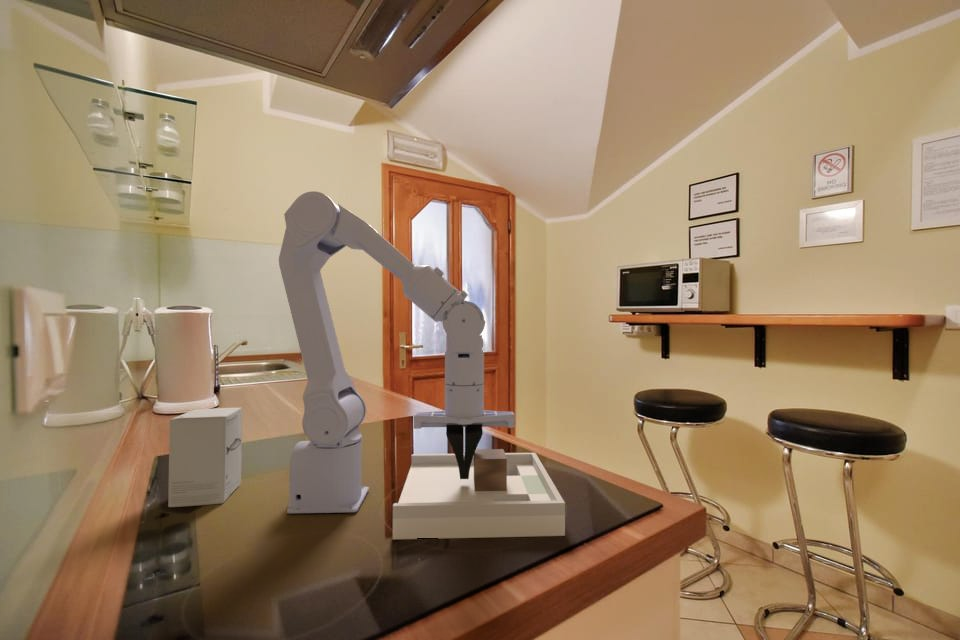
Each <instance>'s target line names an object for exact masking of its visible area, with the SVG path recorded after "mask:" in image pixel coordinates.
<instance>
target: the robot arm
mask: <svg viewBox="0 0 960 640" xmlns="http://www.w3.org/2000/svg"><path fill="white" fill-rule="evenodd" d="M283 217H284V222H285V231H284V234H283V238H282V242H281V248H280V252H279V255H278V266H279V269H280V274H281V278H282V283H283V286H284V290H285V294H286V297H287V302H288V305H289V310H290V314H291V317H292V321H293V327H294V330H295V334H296V337H297V342H298V346H299V350H300V353H301V357H302V362H303V365H304V370H305V374H306V379H307V382H306V386H305V389H304V391H303V395H302V401H303V404H304V411H303V417H302V420H301V421H302V422H301V424H302V426H301V427H302V430H303V432H304V435H305V436H306V438H307V439H308V440H302V441H301V440H300V441H298V442H297V443H296V444H295V446H294V447H293V449H292V450H291V451H292V452H291V455H290V460H289V479H288V482H289V485H288V486H289V491H288V493H289V495H288V497H289V500H288V501H289V503H288V508H287V509H286V513H287V514H329V513H330V514H331V513H335V514H337V513H339V514H340V513H357V512H358V510H359V509H360V507H361V506H362V503H363V502H364V500H365V498H366V496H367V495H368V492H369V490H370V487H369V486H363V485H362V481H363V480H362V478H363V477H362V476H363V475H362V473H363V472H362V470H363V469H362V467H363V465H362V464H363V463H362V461H363V459H362V457H363V456H362V455H363V452H362V451H363V442H362V441H363V435H362V432H361V431H360V425H361V424H362V423H363V421H365V417H366V414H367V405H366V402H365V400H364V398H363V397H362V396H361V394H359V393H358V391H357V389H356V387H355V383H354V381H353V380H354V379H353V378H352V377H351V376H350V375H349V374H348V372H347V371H346V369H345V364H344V361H343V357H342V352H341V349H340V345H339V341H338V337H337V333H336V329H335V325H334V321H333V318H332V316H333V315H332V313H331V308H330V304H329V302H328V297H327V293H326V290H325V289H326V288H325V285H324V281H323V278H322V273H321V270H322V268H323V267H324V266H325V265H326V263H327V262H328V260H330V258H331V257H333V256H335V255H336V254H337V253H339V252H340V251H341V250H343V249H344V248H346V247H348V248H349V249H351V250H359V251H360V250H362V251H363V252H365V254H368V256H370V257H371V258H372V259H373V260H374V261H376V262H378V263H379V264H380V265H381V266H383V268H385V269H386V270H387V271H388V272H389V273H391V274H392V275H394V277H395V278H397V279H398V280H400V282H401V285H402V293H403V296H404V297H406V298H407V299H408V300H409V301H410V302H412V303H413V304H414V305H415V306H416V307H417V308H419V309H420V310H421V311H422V312H424V314H426V315H427V316H428V317H429V318H430V319H431V320H433V321H434V322H436V323H440V322H441V323H442V328H443V330H444V332H445V334H446V350H445V353H444V410H438V411H437V410H435V411H426V412H425V411H424V412H423V411H422V412H417V411H416V412H415V413H414V414H413V429H416V430H418V429H423V428H446V429H445V431H446V433H445V434H446V437H447V440H448V442H449V444H450V446H451V449H452V451H453V454H455V457H456V460H457V463H458V468H459V473H460V479H469V471H470V466H471V462H472V459H473V456H474V453H475V450H476V449H477V447H478V445H479V443H480V442H481V440H482V436H483V432H484V431H483V427H485V428H486V427H489V428H491V427H492V428H493V427H495V428H497V427H500V428H501V427H506V428H513V429H514V428H515V427H516V426H515V425H516V424H515V422H516V421H515V418H516V416H515V413H514V412H513V411H502V410H501V411H500V410H499V411H498V410H486V409H485V351H484V350H483V347H484V339H483V335H481V334H482V332H483V331H484V330H485V327H486V326H485V325H486V320H485V316H484V313H483V311H482V309H481V308H480V307H479V305H477V304H476V303H474V302H472V301H469V300H466V298H467V297H468V293H467V292H466V291H465V290H461V291H460V290H459V289H457V288H456V287H455V286H454V285H453V284H452V283H450V282H449V281H448V280H447V279H445V277H444V276H443V275H444V274H445V273H444V271H443V270H441V269H440V268H439V267H438V266H435V268H433V267H432V266H430V265H428V264H423V265H415V264H414V263H413V262H411V261H410V260H409V259H408V258H407V257H406V256H405V255H404V254H403V253H402V252H401V251H399V250H398V249H397V248H396V247H395V246H394V245H392V243H391V242H389V241H388V240H387V239H386V238H385V237H384V236H383V235H382V234H380V233H379V232H378V231H377V230H376V229H375V228H374V227H373V226H371V225H370V224H369V223H368V222H367V221H365V220H364V219H362V218H361V217H359V216H358V215H356V214H355V213H353V212H352V211H350V210H349V209H348V208H346V207H344V206H342V205H341V204H339V203H338V204H336V203H335V202H334V201H333V199H331V197H329V196H328V195H326V194H325V193H322V192H320V191H314V190H313V191H308V192H305V193H302V194H299V196H298V197H297V198H296V199H295V200H294V201H293V202H292V204H291V205H290V206H289V207H288V208H287V210H285V213H284V216H283ZM464 454H465V457H464Z"/></svg>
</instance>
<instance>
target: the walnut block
mask: <svg viewBox="0 0 960 640" xmlns="http://www.w3.org/2000/svg"><path fill="white" fill-rule="evenodd" d="M505 453H506V452H505V450H504V448H499V449H498V448H492V449H491V448H490V449H488V448H486V449H485V448H484V449H483V448H482V449H477V448H476V450H475V453H474V488H475V491H507V458H506V455H505Z"/></svg>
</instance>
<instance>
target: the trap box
mask: <svg viewBox="0 0 960 640" xmlns="http://www.w3.org/2000/svg"><path fill="white" fill-rule="evenodd" d="M505 455H506V458H507V491H475V488H474V456H473V459H472V462H471V466H470V471H469V479H460V473H459V468H458V463H457V460H456V457H455V454H454V453H418V454H417V453H413V454H411V465H410V468H409V470H408V474H407V476H406V480H405V483H404V485H403V488H402V490H401V493H400V497H399V499H398V502H395V503H393V504H392V540H418V539H417V538H438V539H471V538H472V539H473V538H478V539H479V538H484V539H485V538H517V537H518V538H520V537H525V538H526V537H563V536H564V537H565V536H566V502H565V500H564V499H563V497H562V496H561V494H560V492H559V490H558V488H557V487H556V485H555V483H554V482H553V480H552V478H551V477H550V475H549V474H548V471H547V470H546V468H545V467H544V465H543V463H542V462H541V460H540V458H539V456H538V455H537V453H536V452H505ZM464 457H465V453H464Z"/></svg>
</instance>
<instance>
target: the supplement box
mask: <svg viewBox="0 0 960 640" xmlns="http://www.w3.org/2000/svg"><path fill="white" fill-rule="evenodd" d="M242 425H243V407H217V408H215V407H213V408H199V409H192V410H190V411H187V412H185V413H183V414H180V415H178V416H175V417H173V418H170V419H169V442H168V443H169V447H168V449H169V450H168V451H169V453H168V491H167V493H168V496H167V497H168V498H167V499H168V500H167V502H168V504H167V507H168V508H182V507H194V506H196V507H197V506H207V505H220V504H224V503H225V502H226V500H227V499H228V498H229V497H230V496H231V495H232V493H234V491H235V490H237V488H239V487H240V486H241V484H242V450H243V449H242V447H243V445H242V444H243V443H242V440H243V439H242V438H243V437H242V436H243V433H242V431H243V430H242V429H243V428H242V427H243V426H242Z"/></svg>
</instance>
